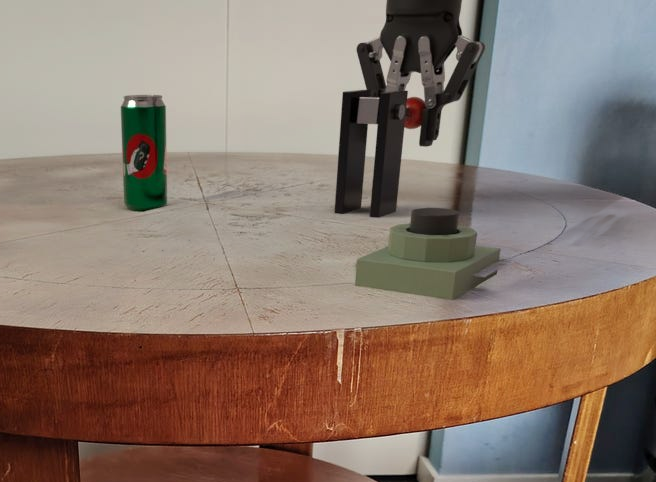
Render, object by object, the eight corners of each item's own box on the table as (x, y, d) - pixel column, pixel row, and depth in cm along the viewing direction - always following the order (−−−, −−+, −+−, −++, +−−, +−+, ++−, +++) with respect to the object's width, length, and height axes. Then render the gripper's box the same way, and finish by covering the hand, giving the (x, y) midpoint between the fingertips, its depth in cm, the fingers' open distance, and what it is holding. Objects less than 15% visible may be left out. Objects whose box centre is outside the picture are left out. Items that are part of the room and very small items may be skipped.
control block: (496, 275, 74) (504, 225, 72) (452, 301, 67) (459, 246, 65) (405, 263, 78) (410, 216, 76) (354, 286, 71) (358, 235, 69)
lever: (402, 128, 100) (406, 97, 99) (430, 129, 98) (434, 97, 97) (351, 127, 90) (354, 92, 89) (380, 129, 88) (385, 93, 87)
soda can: (175, 208, 105) (173, 95, 99) (136, 212, 102) (133, 97, 97) (154, 203, 109) (152, 94, 103) (116, 206, 106) (112, 95, 101)
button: (463, 233, 71) (466, 210, 70) (446, 240, 69) (449, 217, 68) (419, 228, 73) (422, 206, 72) (401, 235, 70) (404, 212, 70)
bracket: (336, 213, 101) (345, 88, 95) (430, 223, 95) (446, 90, 89) (297, 226, 94) (304, 92, 88) (395, 237, 89) (409, 94, 83)
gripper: (510, -40, 90) (483, 145, 98) (379, -33, 97) (364, 138, 105) (484, -44, 84) (458, 152, 92) (347, -37, 92) (335, 144, 100)
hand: (408, 144), depth 99 cm, fingers closed on lever, 3 cm apart
